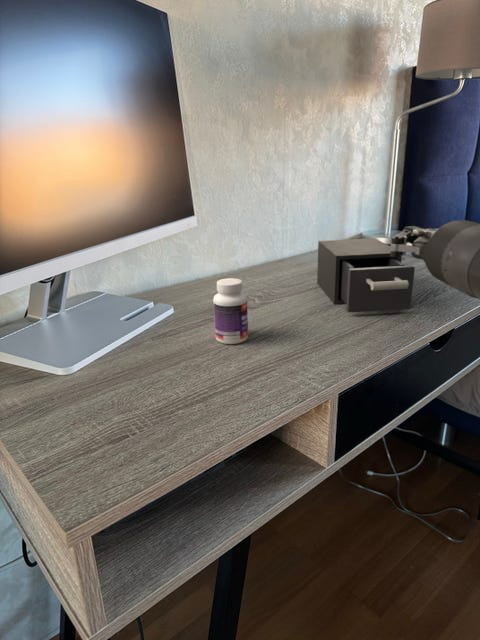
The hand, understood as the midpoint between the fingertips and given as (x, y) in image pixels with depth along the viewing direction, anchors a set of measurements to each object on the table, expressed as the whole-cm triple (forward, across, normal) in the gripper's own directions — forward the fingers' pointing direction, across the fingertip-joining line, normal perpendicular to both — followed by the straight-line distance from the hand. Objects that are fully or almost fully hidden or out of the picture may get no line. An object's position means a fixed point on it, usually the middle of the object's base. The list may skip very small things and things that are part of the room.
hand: (408, 233), depth 65 cm
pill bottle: (+4, -27, -17) cm, 32 cm away
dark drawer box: (+14, 0, -15) cm, 21 cm away
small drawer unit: (+24, 0, -16) cm, 29 cm away
